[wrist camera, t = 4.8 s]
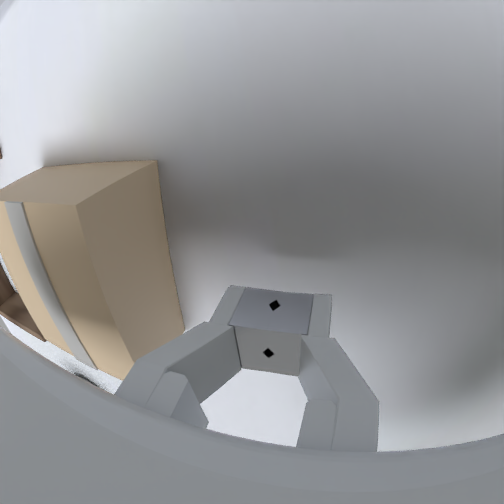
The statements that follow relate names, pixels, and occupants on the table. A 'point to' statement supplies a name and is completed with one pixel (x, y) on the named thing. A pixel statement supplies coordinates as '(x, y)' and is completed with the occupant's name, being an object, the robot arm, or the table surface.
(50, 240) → the carton
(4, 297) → the brown u-shaped stall
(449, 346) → the table surface
